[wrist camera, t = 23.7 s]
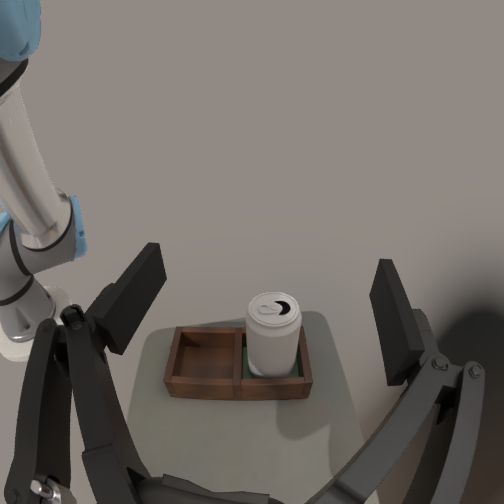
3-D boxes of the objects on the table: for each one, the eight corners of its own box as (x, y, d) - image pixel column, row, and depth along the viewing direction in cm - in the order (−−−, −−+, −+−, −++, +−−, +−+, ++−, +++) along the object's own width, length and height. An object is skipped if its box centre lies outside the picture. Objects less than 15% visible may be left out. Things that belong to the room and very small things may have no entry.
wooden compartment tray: (170, 396, 34) (163, 381, 31) (181, 344, 42) (176, 326, 40) (308, 397, 33) (313, 382, 31) (300, 344, 42) (303, 325, 39)
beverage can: (298, 381, 35) (310, 323, 28) (251, 389, 34) (249, 331, 28) (287, 347, 40) (294, 285, 34) (244, 353, 39) (241, 291, 33)
